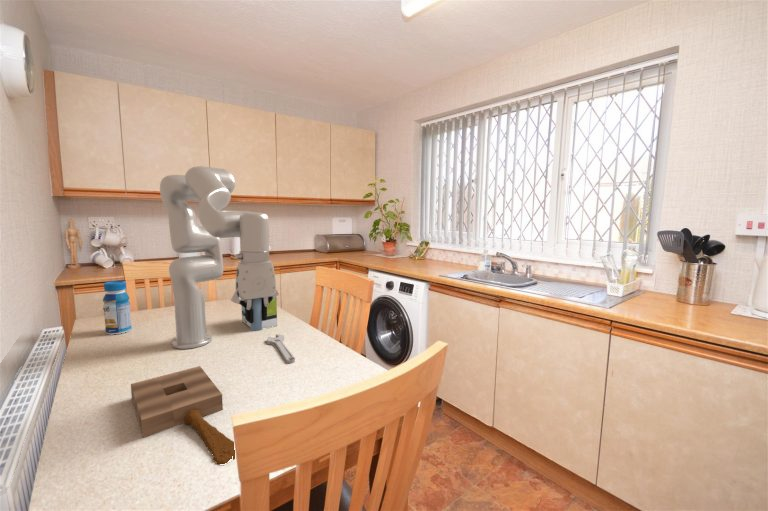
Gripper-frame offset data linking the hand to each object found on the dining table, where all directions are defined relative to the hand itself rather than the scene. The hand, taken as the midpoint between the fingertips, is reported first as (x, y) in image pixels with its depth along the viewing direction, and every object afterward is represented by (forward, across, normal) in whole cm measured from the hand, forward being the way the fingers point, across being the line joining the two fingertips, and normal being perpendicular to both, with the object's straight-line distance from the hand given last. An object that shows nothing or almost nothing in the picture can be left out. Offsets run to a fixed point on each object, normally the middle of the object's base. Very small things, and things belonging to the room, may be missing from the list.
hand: (256, 320), depth 97 cm
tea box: (+18, +19, +46) cm, 53 cm away
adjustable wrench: (+18, +14, +15) cm, 27 cm away
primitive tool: (+18, -18, -21) cm, 32 cm away
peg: (+3, 0, 0) cm, 3 cm away
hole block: (+17, -21, -1) cm, 27 cm away
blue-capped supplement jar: (+19, -27, +72) cm, 79 cm away
